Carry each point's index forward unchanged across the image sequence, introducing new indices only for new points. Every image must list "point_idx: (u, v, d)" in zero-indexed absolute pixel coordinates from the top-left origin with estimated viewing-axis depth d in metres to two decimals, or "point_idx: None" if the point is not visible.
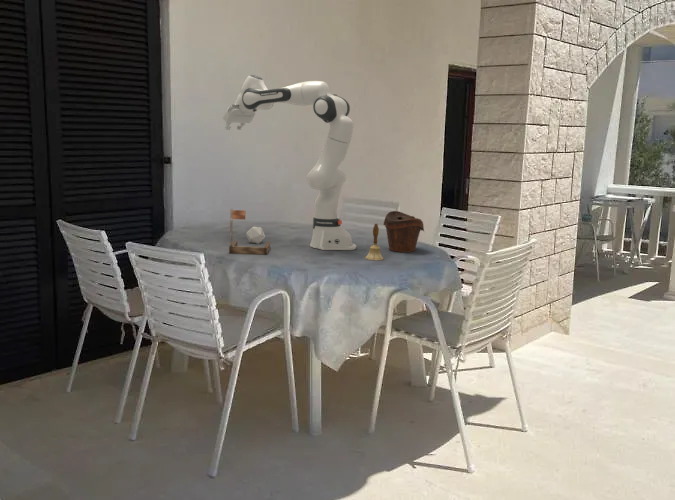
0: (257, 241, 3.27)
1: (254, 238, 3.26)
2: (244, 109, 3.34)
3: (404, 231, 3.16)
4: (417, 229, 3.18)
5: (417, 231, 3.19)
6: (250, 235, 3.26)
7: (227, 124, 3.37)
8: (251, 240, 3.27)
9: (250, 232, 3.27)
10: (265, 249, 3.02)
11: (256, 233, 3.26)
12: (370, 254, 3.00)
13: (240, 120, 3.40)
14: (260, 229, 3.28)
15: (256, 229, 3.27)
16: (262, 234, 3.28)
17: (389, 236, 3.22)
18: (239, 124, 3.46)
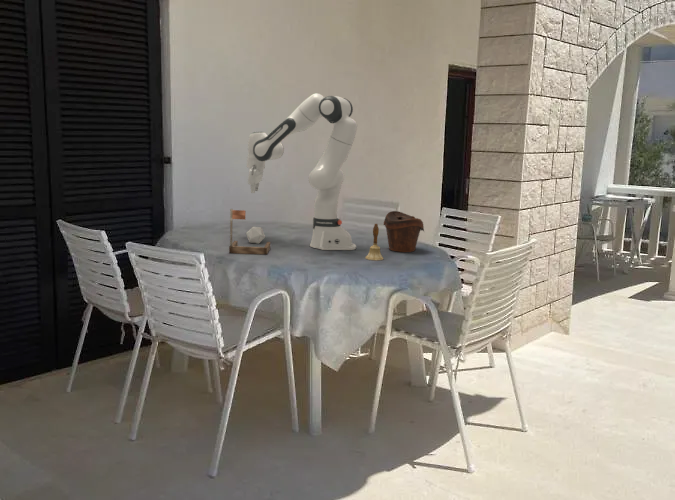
0: (257, 241, 3.27)
1: (254, 238, 3.26)
2: (261, 166, 3.32)
3: (404, 231, 3.16)
4: (417, 229, 3.18)
5: (417, 231, 3.19)
6: (250, 235, 3.26)
7: (252, 188, 3.32)
8: (251, 240, 3.27)
9: (250, 232, 3.27)
10: (265, 249, 3.02)
11: (256, 233, 3.26)
12: (370, 254, 3.00)
13: (258, 180, 3.37)
14: (260, 229, 3.28)
15: (256, 229, 3.27)
16: (262, 234, 3.28)
17: (389, 236, 3.22)
18: (254, 186, 3.42)
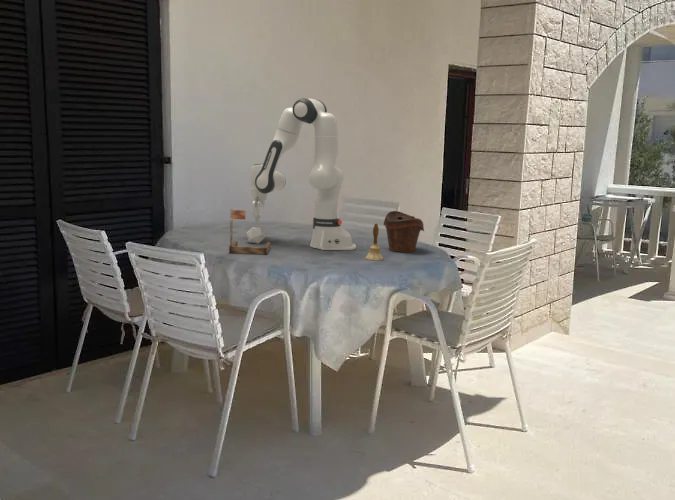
0: (257, 241, 3.27)
1: (254, 238, 3.26)
2: (264, 198, 3.34)
3: (404, 231, 3.16)
4: (417, 229, 3.18)
5: (417, 231, 3.19)
6: (250, 235, 3.26)
7: (256, 218, 3.37)
8: (251, 240, 3.27)
9: (250, 232, 3.27)
10: (265, 249, 3.02)
11: (256, 233, 3.26)
12: (370, 254, 3.00)
13: (261, 211, 3.39)
14: (260, 229, 3.28)
15: (256, 229, 3.27)
16: (262, 234, 3.28)
17: (389, 236, 3.22)
18: None
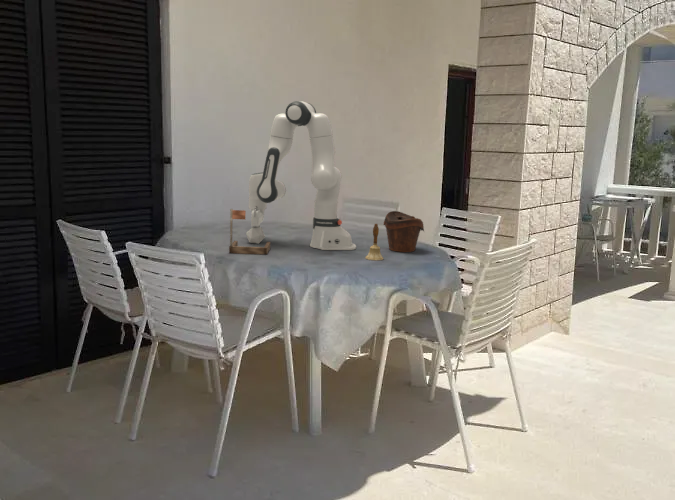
0: (257, 241, 3.27)
1: (254, 238, 3.26)
2: (263, 207, 3.30)
3: (404, 231, 3.16)
4: (417, 229, 3.18)
5: (417, 231, 3.19)
6: (250, 235, 3.26)
7: None
8: (251, 240, 3.27)
9: (250, 232, 3.27)
10: (265, 249, 3.02)
11: (256, 233, 3.26)
12: (370, 254, 3.00)
13: None
14: (260, 229, 3.28)
15: (256, 229, 3.27)
16: (262, 234, 3.28)
17: (389, 236, 3.22)
18: None
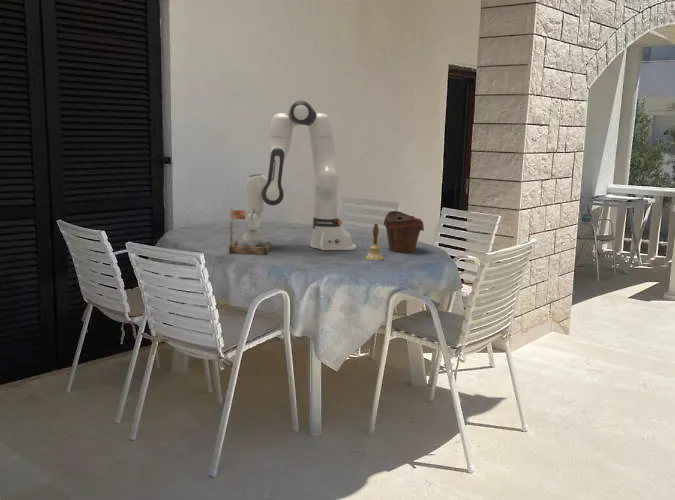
0: (251, 245, 3.16)
1: (248, 242, 3.15)
2: (260, 210, 3.18)
3: (404, 231, 3.16)
4: (417, 229, 3.18)
5: (417, 231, 3.19)
6: (244, 239, 3.15)
7: None
8: (245, 244, 3.16)
9: (244, 236, 3.16)
10: (265, 249, 3.02)
11: (250, 237, 3.15)
12: (370, 254, 3.00)
13: (258, 224, 3.23)
14: (255, 233, 3.16)
15: (250, 233, 3.16)
16: (257, 238, 3.16)
17: (389, 236, 3.22)
18: None
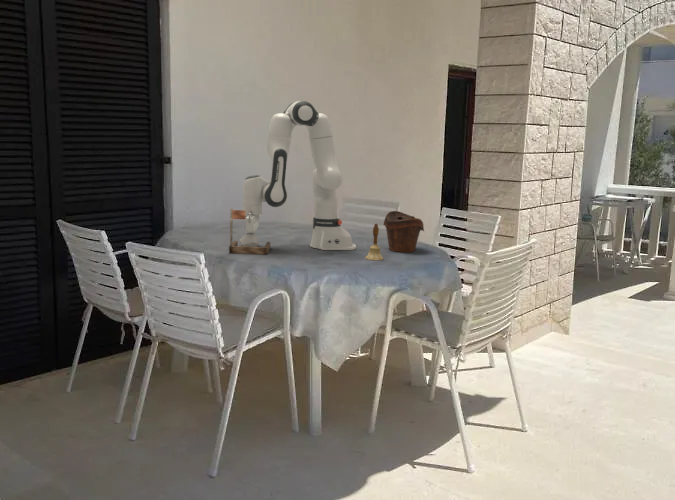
0: None
1: (246, 245, 3.07)
2: (258, 212, 3.10)
3: (404, 231, 3.16)
4: (417, 229, 3.18)
5: (417, 231, 3.19)
6: (242, 242, 3.07)
7: None
8: None
9: (242, 239, 3.08)
10: (265, 249, 3.02)
11: (249, 240, 3.06)
12: (370, 254, 3.00)
13: (256, 226, 3.15)
14: (253, 236, 3.08)
15: (249, 236, 3.07)
16: (255, 241, 3.08)
17: (389, 236, 3.22)
18: None
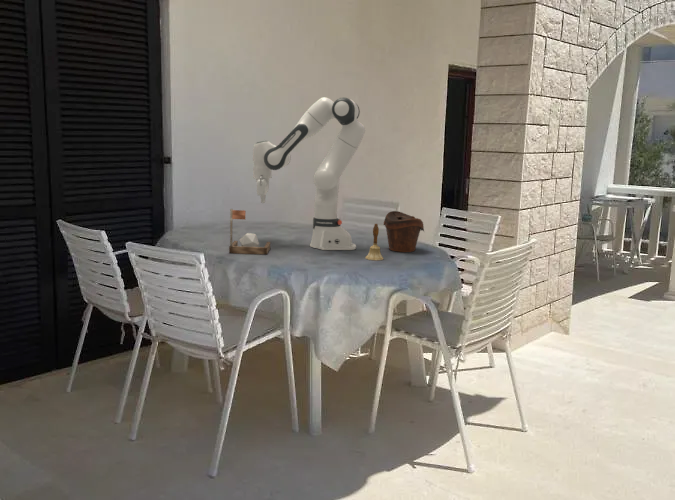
0: None
1: (246, 245, 3.07)
2: (268, 176, 3.25)
3: (404, 231, 3.16)
4: (417, 229, 3.18)
5: (417, 231, 3.19)
6: (242, 242, 3.07)
7: (262, 198, 3.27)
8: None
9: (242, 239, 3.08)
10: (265, 249, 3.02)
11: (249, 240, 3.06)
12: (370, 254, 3.00)
13: (266, 190, 3.29)
14: (253, 236, 3.08)
15: (249, 236, 3.07)
16: (255, 241, 3.08)
17: (389, 236, 3.22)
18: None
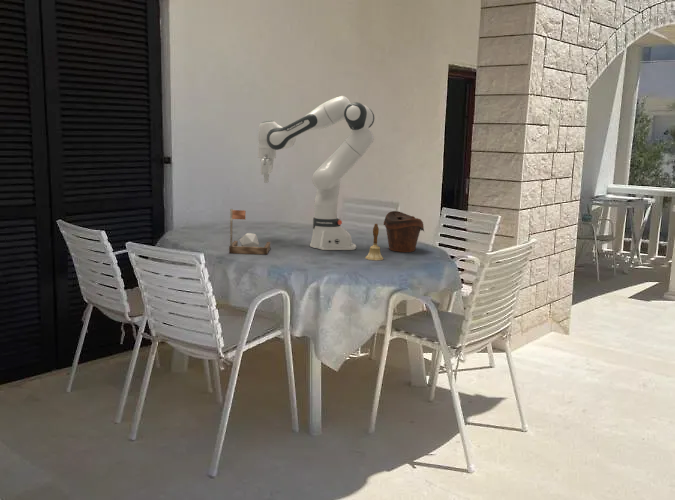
0: None
1: (246, 245, 3.07)
2: (273, 156, 3.28)
3: (404, 231, 3.16)
4: (417, 229, 3.18)
5: (417, 231, 3.19)
6: (242, 242, 3.07)
7: (265, 177, 3.30)
8: None
9: (242, 239, 3.08)
10: (265, 249, 3.02)
11: (249, 240, 3.06)
12: (370, 254, 3.00)
13: (270, 170, 3.32)
14: (253, 236, 3.08)
15: (249, 236, 3.07)
16: (255, 241, 3.08)
17: (389, 236, 3.22)
18: None
